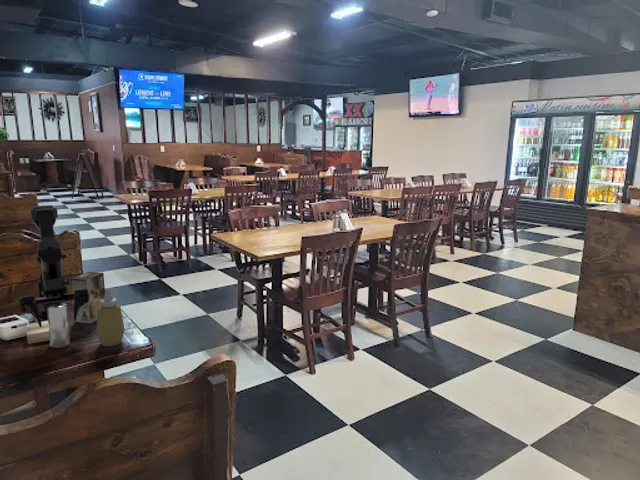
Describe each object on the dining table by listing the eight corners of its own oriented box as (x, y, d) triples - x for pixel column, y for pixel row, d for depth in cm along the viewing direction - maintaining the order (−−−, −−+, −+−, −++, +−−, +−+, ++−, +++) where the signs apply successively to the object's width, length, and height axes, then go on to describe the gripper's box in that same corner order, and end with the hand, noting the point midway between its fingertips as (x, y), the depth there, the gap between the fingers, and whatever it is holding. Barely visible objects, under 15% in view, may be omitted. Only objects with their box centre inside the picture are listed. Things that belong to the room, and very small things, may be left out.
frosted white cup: (58, 339, 147) (55, 302, 145) (73, 341, 147) (70, 304, 144) (46, 346, 142) (42, 308, 139) (61, 348, 141) (58, 310, 139)
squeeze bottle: (98, 350, 141) (93, 294, 137) (97, 340, 148) (92, 286, 144) (126, 345, 144) (122, 291, 140) (124, 336, 151) (120, 283, 147)
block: (28, 332, 152) (27, 323, 152) (62, 326, 157) (62, 318, 157) (27, 343, 144) (26, 334, 143) (64, 337, 149) (63, 328, 148)
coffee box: (92, 312, 170) (88, 270, 167) (107, 314, 169) (104, 272, 166) (74, 322, 161) (70, 278, 158) (90, 323, 160) (86, 279, 157)
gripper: (16, 271, 138) (19, 318, 131) (85, 264, 148) (92, 307, 141) (19, 289, 146) (23, 334, 139) (85, 281, 156) (91, 322, 149)
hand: (58, 324), depth 142 cm, fingers open, 9 cm apart
